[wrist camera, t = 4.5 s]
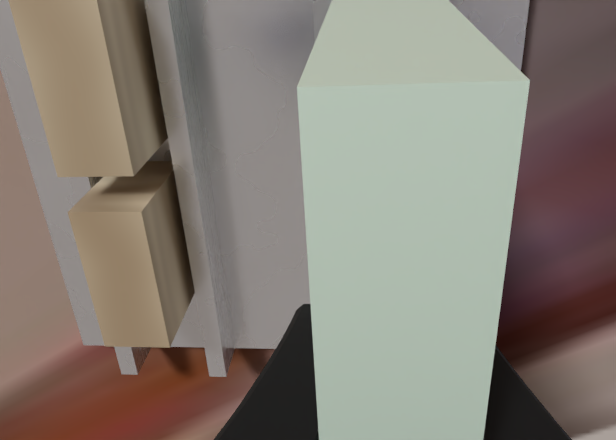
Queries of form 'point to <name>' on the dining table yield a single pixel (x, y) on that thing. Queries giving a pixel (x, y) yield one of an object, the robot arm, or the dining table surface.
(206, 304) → the slot rack
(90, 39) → the oak offcut
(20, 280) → the dining table surface
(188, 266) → the oak offcut
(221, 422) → the dining table surface
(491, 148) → the sage panel
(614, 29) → the dining table surface
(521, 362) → the dining table surface
